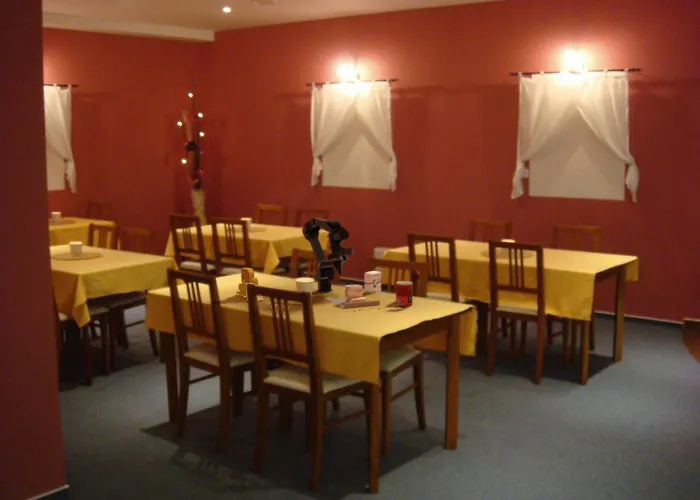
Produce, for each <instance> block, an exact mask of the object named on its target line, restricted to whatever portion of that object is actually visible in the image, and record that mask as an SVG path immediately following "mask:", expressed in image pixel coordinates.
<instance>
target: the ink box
mask: <svg viewBox="0 0 700 500" xmlns="http://www.w3.org/2000/svg"><path fill="white" fill-rule="evenodd" d="M363 277H364V294H370V295H373V294H378V295H381V294H382V271H377V270H372V271H367V272H364V276H363Z"/></svg>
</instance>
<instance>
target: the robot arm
mask: <svg viewBox="0 0 700 500" xmlns="http://www.w3.org/2000/svg"><path fill="white" fill-rule="evenodd" d="M321 228H323V230H324V231H326V232H328V234H327V236H326V237H327V238H328V241H329V249H330V253H329V254H327V256H326V255H325V252H324V250H323V247H322V244H321V242H320V239H319V236H320V231H321ZM301 233H302V235H303V238H304V239H305V240H307V241H308V242H309V243H310V247H311V249H312V251H313V255H314V257H315V259H316V262H317V267H316V272H315V275H314V279H315V280H316V281H317V289H316V290H315V291H316V292H320V293H328V292H333V288H332V280H334V278H335V270H336V272H337V273H338V274H339V276H342V274H343V266H344V263H345V262H348V261H349V257H348V256H351V257H353V256H354V253H355V251H354V250H355V249H353V247H344V245H342V242H344V241H346V240H348V238H349V237H350V232H349V231H348V230H347V229H345V227H344V226H343V225H342V223H341V222H340V220H339V219H329V220H328V219H326V218H325V219H324V218H321V217H320V216H318V217H316V216H315V217H313V216H312V217H311V218H310V219H309V220H308V221H307V222H305V223H304V225H303V227H302V228H301ZM346 255H348V256H346Z"/></svg>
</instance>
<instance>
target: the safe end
mask: <svg viewBox="0 0 700 500" xmlns="http://www.w3.org/2000/svg"><path fill="white" fill-rule="evenodd" d="M380 301H381V300H380V299H377V300H370V301H368V300H367V301H365V302H354V303H344V305H338V306H339V307H341V308H343V309H351V308H361V307H362V308H364V307H370V306H379V305H380V304H381V302H380ZM371 309H374V308H373V307H372V308H370V310H371ZM362 310H364V309H360V311H362ZM351 311H353V312H354V309H353V310H350V312H351Z"/></svg>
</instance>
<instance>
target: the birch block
mask: <svg viewBox="0 0 700 500" xmlns="http://www.w3.org/2000/svg"><path fill="white" fill-rule="evenodd" d="M363 287H364V285H360V284H349V285H344V296H345V297H344V298H345V302H346V303H354V302H365V301H368V300H367V299H368V298H366V297H365V296H364V295H363V293H364V292H363V289H364V288H363Z"/></svg>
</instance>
